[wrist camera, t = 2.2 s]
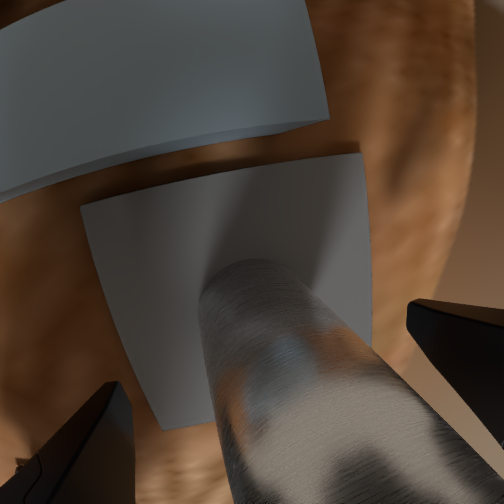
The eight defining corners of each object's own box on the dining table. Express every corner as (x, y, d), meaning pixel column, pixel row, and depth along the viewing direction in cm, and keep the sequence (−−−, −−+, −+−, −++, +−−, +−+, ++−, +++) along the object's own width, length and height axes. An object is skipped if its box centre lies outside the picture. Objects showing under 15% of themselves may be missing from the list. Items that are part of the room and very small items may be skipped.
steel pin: (308, 341, 12) (464, 546, 3) (211, 367, 12) (284, 627, 2) (298, 247, 11) (557, 444, 2) (185, 272, 11) (247, 625, 1)
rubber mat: (365, 368, 14) (369, 372, 14) (162, 424, 12) (162, 430, 12) (356, 152, 11) (362, 152, 11) (82, 204, 10) (79, 206, 9)
